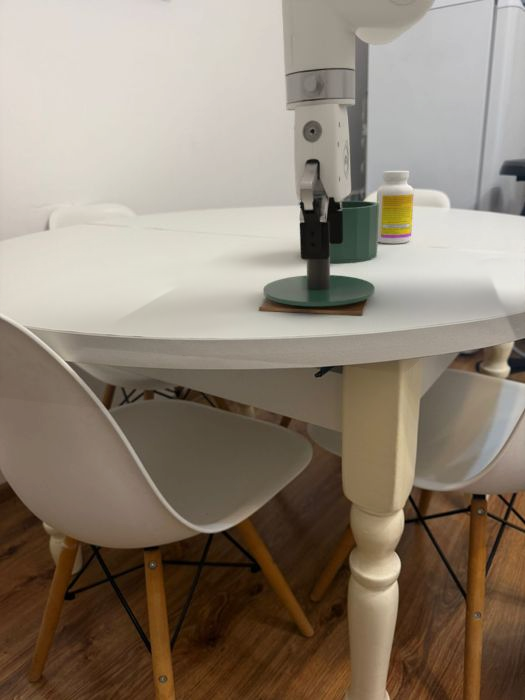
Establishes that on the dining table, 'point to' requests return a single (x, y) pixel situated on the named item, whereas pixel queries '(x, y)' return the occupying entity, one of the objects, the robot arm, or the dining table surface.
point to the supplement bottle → (395, 208)
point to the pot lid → (318, 287)
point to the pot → (357, 233)
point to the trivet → (316, 308)
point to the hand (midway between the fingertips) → (323, 250)
